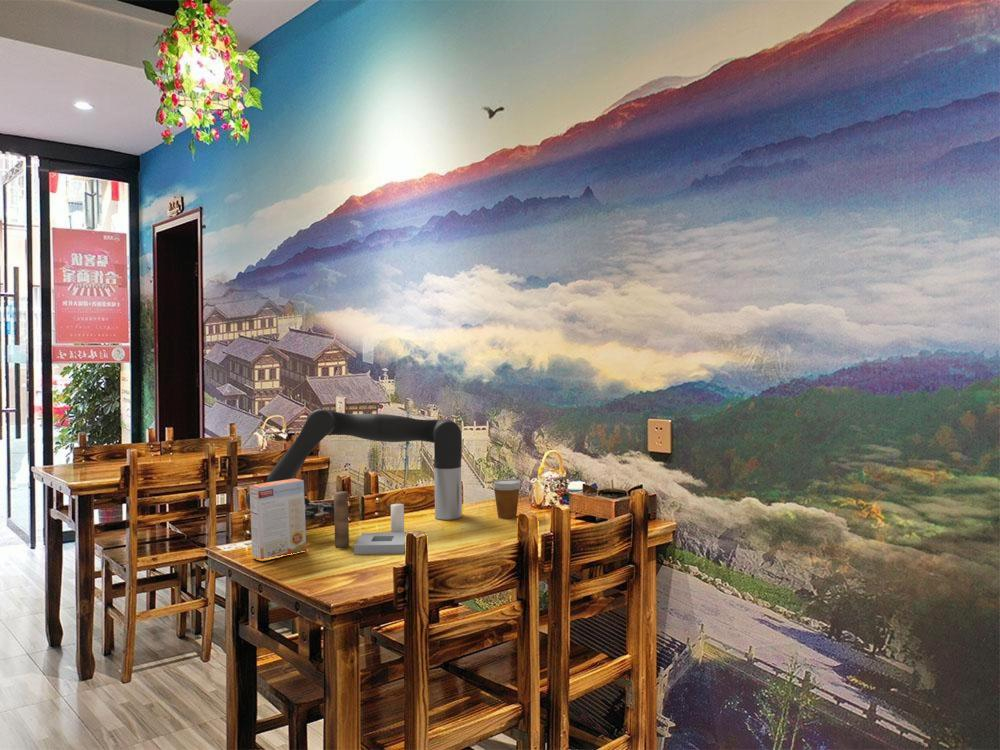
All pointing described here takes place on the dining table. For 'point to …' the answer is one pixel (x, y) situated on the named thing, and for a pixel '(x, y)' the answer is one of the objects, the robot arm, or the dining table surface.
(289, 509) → the cracker box
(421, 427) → the robot arm
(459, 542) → the dining table surface
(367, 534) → the board
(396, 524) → the cream rod
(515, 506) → the disposable coffee cup
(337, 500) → the walnut dowel
